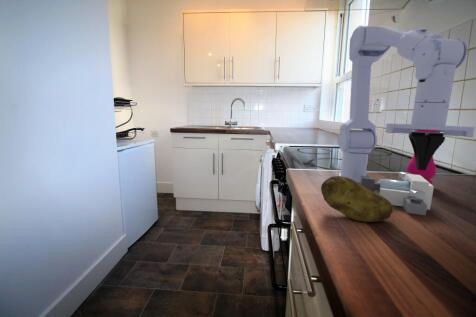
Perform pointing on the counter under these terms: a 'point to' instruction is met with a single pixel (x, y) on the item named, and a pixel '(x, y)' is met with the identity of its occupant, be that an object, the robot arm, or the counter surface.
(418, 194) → the plunger right
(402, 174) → the plunger left
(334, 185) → the potato
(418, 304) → the counter surface
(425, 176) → the pepper mill
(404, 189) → the cartridge
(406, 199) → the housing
